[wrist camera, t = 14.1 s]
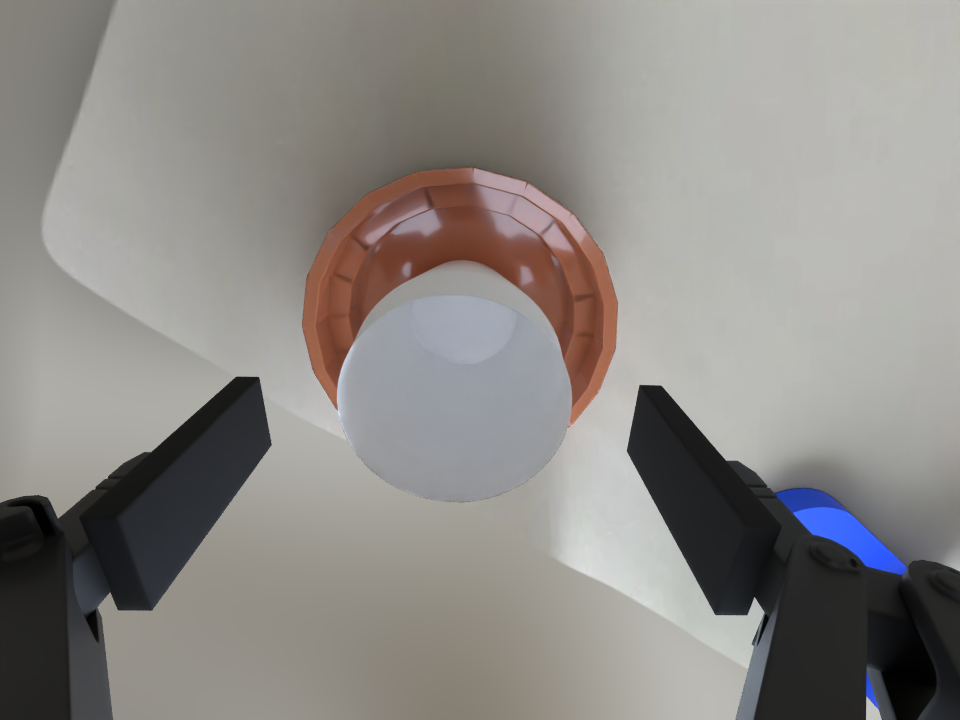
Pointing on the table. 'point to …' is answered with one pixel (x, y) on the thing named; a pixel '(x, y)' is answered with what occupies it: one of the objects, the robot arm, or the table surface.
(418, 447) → the cup
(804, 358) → the table surface
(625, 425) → the table surface
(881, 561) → the bracket
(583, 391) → the bowl
